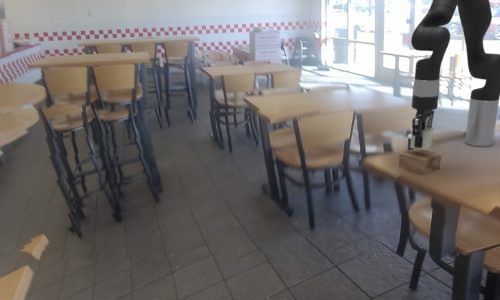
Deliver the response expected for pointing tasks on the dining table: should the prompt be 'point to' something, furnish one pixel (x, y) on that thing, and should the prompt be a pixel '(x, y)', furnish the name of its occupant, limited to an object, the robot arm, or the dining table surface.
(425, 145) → the sage cube
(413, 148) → the pill bottle
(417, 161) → the walnut block
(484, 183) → the dining table surface
